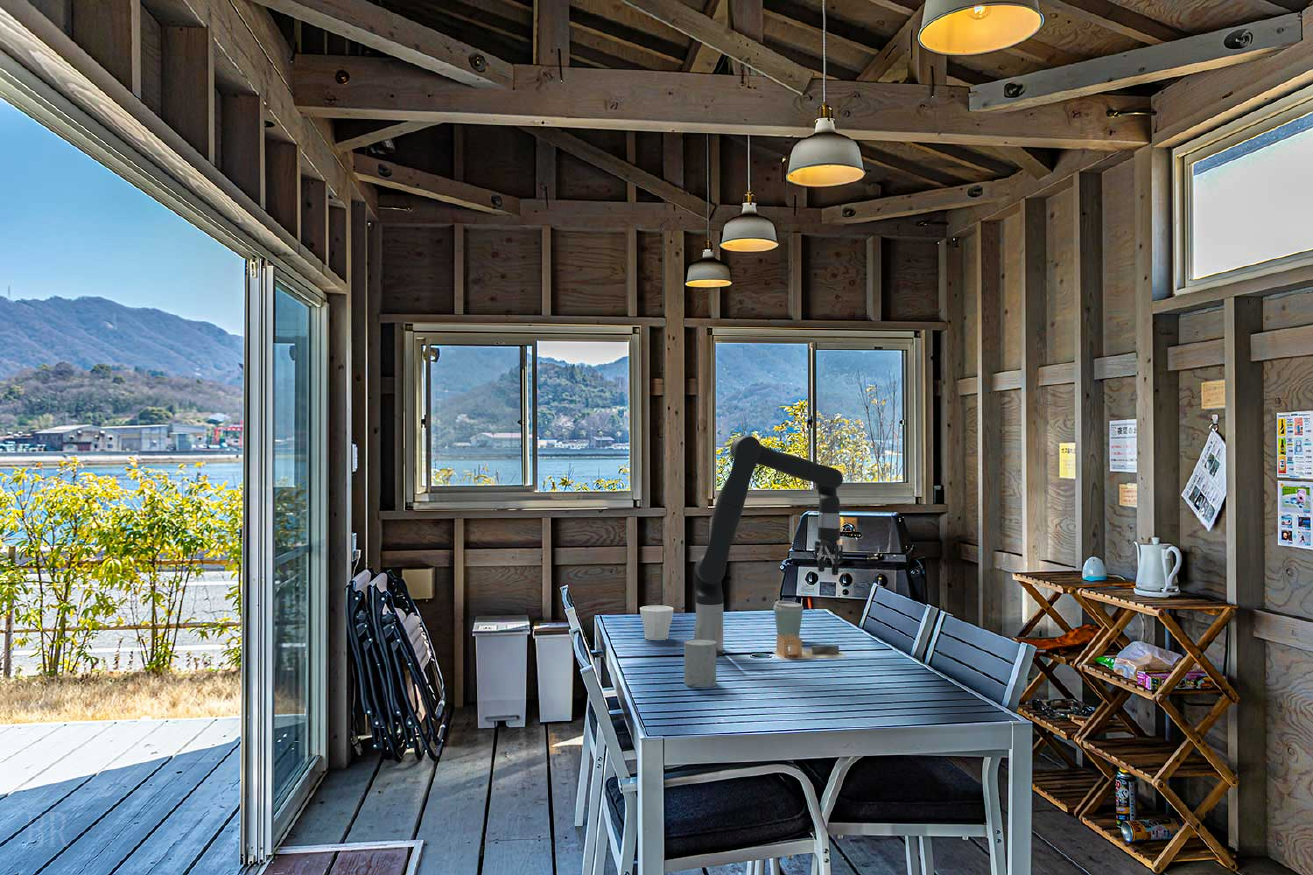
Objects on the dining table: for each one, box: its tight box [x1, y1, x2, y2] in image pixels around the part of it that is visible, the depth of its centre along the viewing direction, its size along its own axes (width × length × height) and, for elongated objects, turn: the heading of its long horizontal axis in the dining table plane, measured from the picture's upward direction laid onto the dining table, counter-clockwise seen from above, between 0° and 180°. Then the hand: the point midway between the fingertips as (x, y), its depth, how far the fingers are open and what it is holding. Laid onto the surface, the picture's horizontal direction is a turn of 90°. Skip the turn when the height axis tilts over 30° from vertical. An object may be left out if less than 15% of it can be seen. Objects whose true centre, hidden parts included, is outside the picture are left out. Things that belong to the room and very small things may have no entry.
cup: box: [639, 605, 675, 641], centre depth 343 cm, size 12×12×11 cm
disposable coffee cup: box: [773, 600, 804, 637], centre depth 333 cm, size 11×11×15 cm
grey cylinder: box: [683, 638, 717, 688], centre depth 278 cm, size 10×10×12 cm
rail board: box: [771, 644, 848, 660], centre depth 311 cm, size 22×12×4 cm, turn 100°
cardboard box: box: [776, 634, 803, 658], centre depth 310 cm, size 8×6×6 cm
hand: (828, 573), depth 324 cm, fingers open, 8 cm apart
